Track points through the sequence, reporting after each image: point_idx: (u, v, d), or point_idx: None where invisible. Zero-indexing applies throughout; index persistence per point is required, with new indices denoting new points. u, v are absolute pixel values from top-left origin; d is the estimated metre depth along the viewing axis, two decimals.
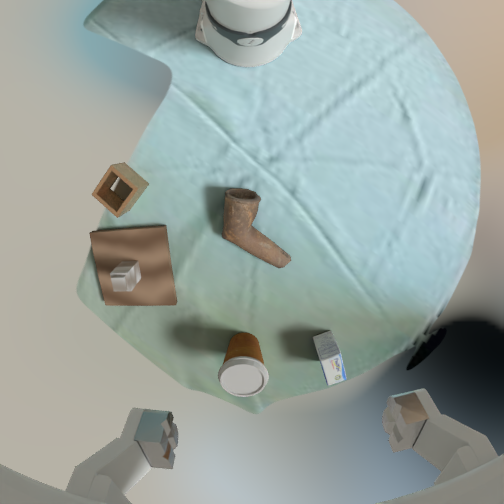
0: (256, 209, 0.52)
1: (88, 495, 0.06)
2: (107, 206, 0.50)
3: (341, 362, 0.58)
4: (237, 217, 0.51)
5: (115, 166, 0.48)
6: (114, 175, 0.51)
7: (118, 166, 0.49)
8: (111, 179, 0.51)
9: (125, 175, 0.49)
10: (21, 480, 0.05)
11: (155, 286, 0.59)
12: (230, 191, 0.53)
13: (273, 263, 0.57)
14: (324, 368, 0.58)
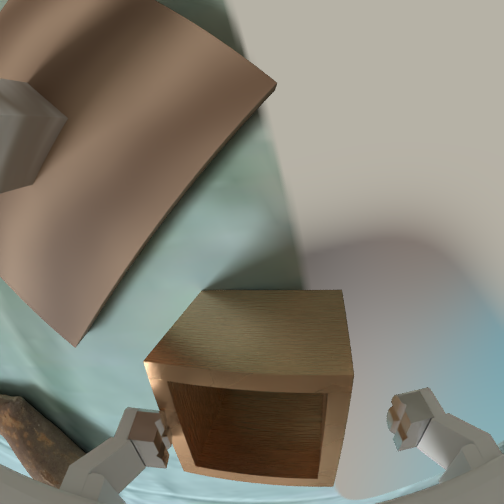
0: None
1: (81, 493, 0.06)
2: (224, 379, 0.09)
3: None
4: (32, 472, 0.15)
5: None
6: None
7: None
8: None
9: None
10: (21, 479, 0.05)
11: None
12: None
13: None
14: None
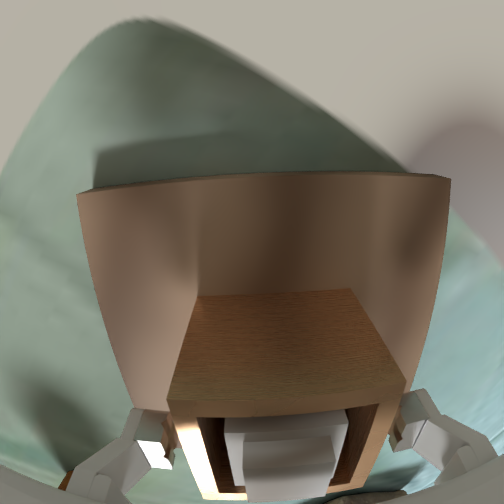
0: None
1: (88, 495, 0.06)
2: (270, 407, 0.07)
3: None
4: None
5: None
6: None
7: None
8: None
9: None
10: (21, 480, 0.05)
11: None
12: None
13: None
14: None
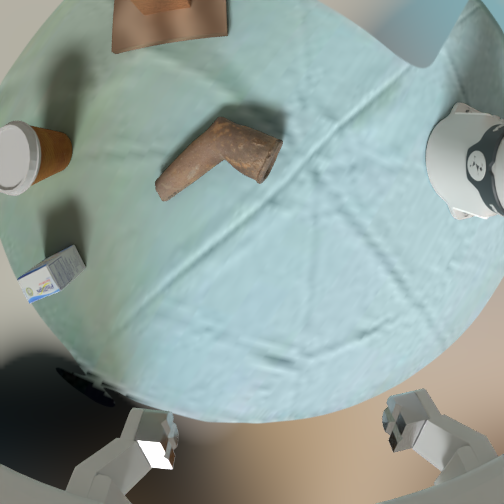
0: (247, 174, 0.37)
1: (88, 495, 0.06)
2: None
3: (49, 293, 0.37)
4: (246, 147, 0.35)
5: None
6: None
7: None
8: None
9: None
10: (21, 480, 0.05)
11: (140, 23, 0.32)
12: (279, 146, 0.38)
13: (164, 177, 0.38)
14: (37, 271, 0.36)
